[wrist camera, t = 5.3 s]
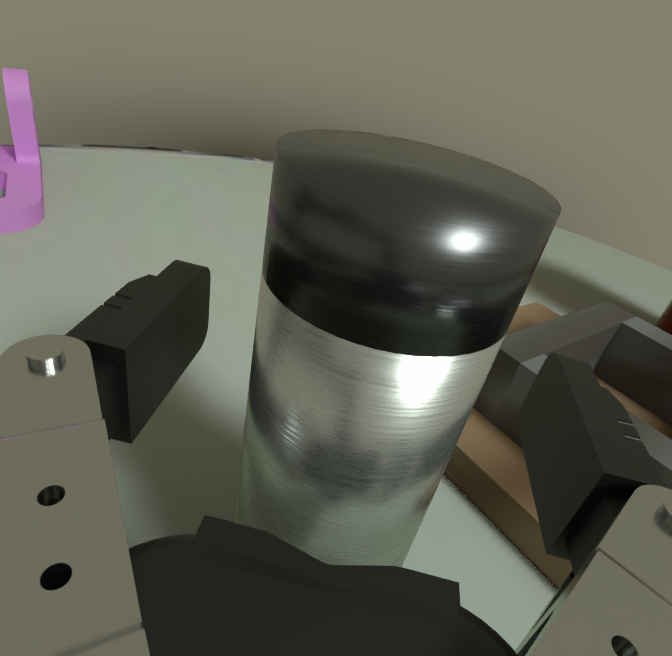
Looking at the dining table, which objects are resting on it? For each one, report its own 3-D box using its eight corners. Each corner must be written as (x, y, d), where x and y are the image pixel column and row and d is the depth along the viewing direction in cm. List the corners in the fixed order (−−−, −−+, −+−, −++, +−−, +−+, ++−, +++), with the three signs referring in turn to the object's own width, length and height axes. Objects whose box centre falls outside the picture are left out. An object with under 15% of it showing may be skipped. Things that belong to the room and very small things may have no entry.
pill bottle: (200, 558, 14) (225, 124, 8) (324, 498, 17) (420, 133, 10) (276, 714, 11) (412, 240, 5) (410, 615, 14) (616, 214, 7)
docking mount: (351, 379, 22) (373, 294, 20) (527, 322, 30) (557, 257, 28) (819, 851, 11) (1000, 788, 9) (903, 563, 19) (1010, 488, 17)
